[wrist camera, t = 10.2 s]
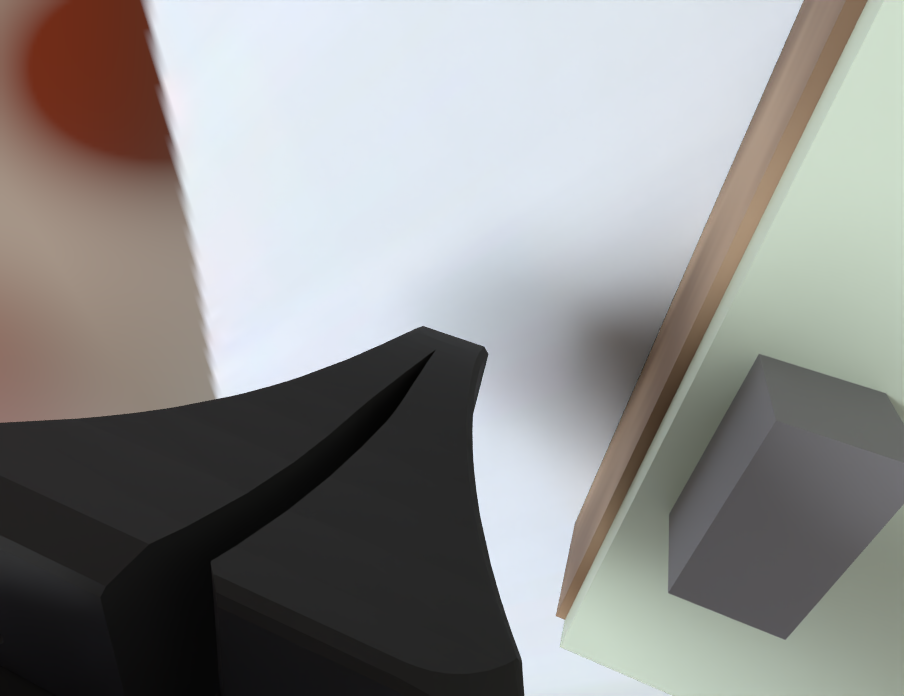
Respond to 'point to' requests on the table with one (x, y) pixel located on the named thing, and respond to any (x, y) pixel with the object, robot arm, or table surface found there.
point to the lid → (782, 437)
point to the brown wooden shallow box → (714, 263)
